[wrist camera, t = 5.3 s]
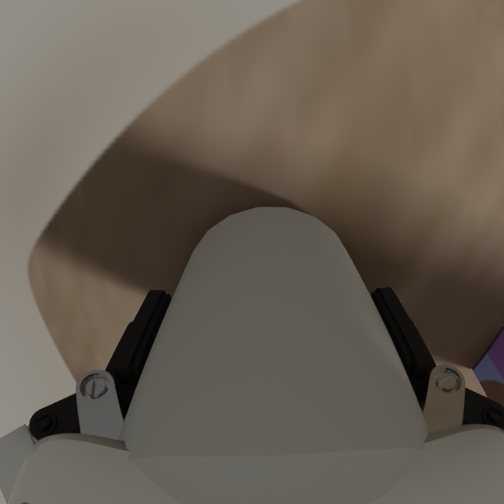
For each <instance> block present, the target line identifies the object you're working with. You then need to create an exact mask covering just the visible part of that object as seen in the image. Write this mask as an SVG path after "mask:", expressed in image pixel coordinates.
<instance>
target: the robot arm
mask: <svg viewBox="0 0 504 504" xmlns="http://www.w3.org/2000/svg"><path fill="white" fill-rule="evenodd" d="M371 298H372V300H373V302H374V304H375V306H376V308H377V310H378V312H379V314H380V316H381V318H382V320H383V322H384V324H385V326H386V329H387V331H388V333H389V335H390V337H391V339H392V342H393V344H394V346H395V348H396V350H397V353H398V355H399V357H400V360H401V362H402V364H403V366H404V369H405V371H406V374H407V376H408V378H409V381H410V383H411V386H412V388H413V391H414V393H415V396H416V398H417V401H418V403H419V406H420V409H421V411H422V414H423V417H424V419H425V422H426V425H427V428H428V431H429V433H428V435H429V436H428V437H427V438H426V440H425V441H424V447H425V450H426V451H425V452H424V453H423V454H422V456H421V457H420V458H419V459H418V460H417V462H416V463H415V464H414V465H413V466H412V467H411V468H410V469H409V470H408V472H407V473H406V474H405V475H404V476H403V477H402V478H401V479H400V480H399V481H398V482H397V483H396V484H395V485H394V486H393V487H392V488H391V489H390V490H389V491H388V492H387V493H386V494H385V495H383V496H381V497H380V498H378V499H376V500H375V501H373V502H371V503H369V504H504V407H503V406H502V405H501V404H499V403H498V402H495V401H493V400H491V399H489V398H487V397H485V396H482V395H480V394H478V393H476V392H474V391H472V390H469V389H467V388H465V379H464V377H463V374H462V373H461V372H460V371H459V370H458V369H457V368H455V367H453V366H451V365H445V364H443V365H438V366H436V364H435V362H434V360H433V358H432V356H431V354H430V352H429V351H428V349H427V347H426V345H425V343H424V341H423V339H422V338H421V336H420V334H419V332H418V330H417V329H416V327H415V325H414V323H413V322H412V321H411V319H410V318H409V316H408V315H407V313H406V311H405V310H404V308H403V306H402V304H401V303H400V301H399V299H398V298H397V296H396V295H395V293H394V291H393V290H392V288H390V287H388V288H377V289H376V290H375V292H372V293H371ZM170 302H171V296H170V295H169V294H166V292H165V291H164V290H150V291H149V293H148V294H147V296H146V298H145V300H144V302H143V304H142V306H141V307H140V309H139V311H138V313H137V315H136V317H135V319H134V321H133V322H131V323H129V325H128V326H127V328H126V330H125V332H124V334H123V336H122V338H121V340H120V342H119V344H118V346H117V347H116V349H115V351H114V353H113V355H112V357H111V360H110V362H109V364H108V366H107V368H106V370H105V371H104V370H92V371H90V372H87V373H86V374H84V375H83V376H82V377H81V378H80V379H79V380H78V382H77V385H76V393H75V394H73V395H71V396H69V397H67V398H64V399H62V400H60V401H58V402H55V403H53V404H51V405H49V406H47V407H44V408H42V409H40V410H38V411H37V412H35V413H34V415H33V416H32V418H31V420H30V424H29V426H28V427H27V426H26V425H25V424H24V425H23V426H21V427H19V428H17V429H16V430H14V431H12V432H11V433H9V434H7V435H5V436H4V437H2V438H0V488H1V491H2V493H3V495H4V498H5V500H6V502H7V504H180V503H178V502H177V501H176V500H175V499H173V498H172V497H171V496H169V495H168V494H167V493H166V492H164V491H163V490H162V489H161V488H160V487H158V486H157V485H156V484H155V483H154V482H153V481H151V480H150V479H149V478H148V477H147V476H146V475H145V474H143V473H142V472H141V471H140V470H139V469H138V468H137V467H136V466H135V465H134V464H133V463H132V462H130V461H129V460H128V457H129V453H130V451H129V450H128V449H127V448H126V444H125V441H121V440H118V438H119V435H120V432H121V429H122V426H123V424H124V421H125V418H126V415H127V412H128V409H129V406H130V404H131V401H132V398H133V395H134V393H135V390H136V387H137V385H138V382H139V379H140V377H141V374H142V371H143V369H144V366H145V364H146V361H147V358H148V356H149V353H150V351H151V348H152V346H153V343H154V341H155V338H156V336H157V333H158V331H159V328H160V326H161V324H162V321H163V319H164V316H165V314H166V312H167V309H168V307H169V305H170Z"/></svg>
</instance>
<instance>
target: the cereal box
mask: <svg viewBox="0 0 504 504" xmlns="http://www.w3.org/2000/svg"><path fill="white" fill-rule="evenodd" d="M473 371H474V373H475V375H476V377H477V378H478V380H479V382H480V384H481V386H482V388H483V389H484V391H485V393H486V395H487V397H488V398H489V399H491V400H493V401H495V402H498V403H499V404H501V405H502V406H503V407H504V327H502V329H501V330H500V332H499V333H498V335H497V336H496V338H495V339H494V341H493V342H492V344H491V345H490V346H489V348H488V349H487V350H486V352H485V353H484V355H483V356H482V357H481V358H480V360H479V361H478V362H477V364H476V365H475V366H474V367H473Z"/></svg>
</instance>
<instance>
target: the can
mask: <svg viewBox="0 0 504 504" xmlns="http://www.w3.org/2000/svg"><path fill="white" fill-rule="evenodd" d="M428 433H429V431H428V428H427V425H426V422H425V419H424V417H423V414H422V411H421V409H420V406H419V403H418V401H417V398H416V396H415V393H414V391H413V388H412V386H411V383H410V381H409V378H408V376H407V374H406V371H405V369H404V366H403V364H402V362H401V360H400V357H399V355H398V353H397V350H396V348H395V346H394V344H393V342H392V339H391V337H390V335H389V333H388V331H387V329H386V326H385V324H384V322H383V320H382V318H381V316H380V314H379V312H378V310H377V308H376V306H375V304H374V302H373V300H372V298H371V296H370V294H369V292H368V290H367V288H366V286H365V284H364V282H363V280H362V278H361V276H360V275H359V273H358V271H357V269H356V267H355V265H354V263H353V262H352V260H351V258H350V256H349V254H348V252H347V251H346V249H345V247H344V246H343V244H342V242H341V241H340V239H339V237H338V236H337V234H336V233H335V232H334V231H333V230H331V229H330V228H329V227H328V226H326V225H325V224H324V223H322V222H321V221H320V220H319V219H317V218H316V217H314V216H312V215H309V214H306V213H303V212H300V211H297V210H294V209H291V208H288V207H256V208H252V209H249V210H246V211H242V212H239V213H236V214H232V215H229V216H228V217H227V218H225V219H224V220H222V221H221V222H219V223H218V224H217V225H215V226H214V227H212V228H211V229H210V230H208V231H207V232H206V234H205V235H204V236H203V238H202V239H201V241H200V242H199V244H198V245H197V246H196V248H195V249H194V251H193V253H192V255H191V257H190V259H189V261H188V264H187V266H186V268H185V270H184V272H183V275H182V277H181V279H180V282H179V284H178V286H177V288H176V291H175V293H174V295H173V298H172V300H171V302H170V305H169V307H168V309H167V312H166V314H165V316H164V319H163V321H162V324H161V326H160V328H159V331H158V333H157V336H156V338H155V341H154V343H153V346H152V348H151V351H150V353H149V356H148V358H147V361H146V364H145V366H144V369H143V371H142V374H141V377H140V379H139V382H138V385H137V387H136V390H135V393H134V395H133V398H132V401H131V404H130V406H129V409H128V412H127V415H126V418H125V421H124V424H123V426H122V429H121V432H120V435H119V438H118V440H121V441H125V444H126V448H127V449H128V450H129V451H130V453H129V457H128V460H129V461H130V462H132V463H133V464H134V465H135V466H136V467H137V468H138V469H139V470H140V471H141V472H142V473H143V474H145V475H146V476H147V477H148V478H149V479H150V480H151V481H153V482H154V483H155V484H156V485H157V486H158V487H160V488H161V489H162V490H163V491H164V492H166V493H167V494H168V495H169V496H171V497H172V498H173V499H175V500H176V501H177V502H178V503H180V504H369V503H371V502H373V501H375V500H376V499H378V498H380V497H381V496H383V495H385V494H386V493H387V492H388V491H389V490H390V489H391V488H392V487H393V486H394V485H395V484H396V483H397V482H398V481H399V480H400V479H401V478H402V477H403V476H404V475H405V474H406V473H407V472H408V470H409V469H410V468H411V467H412V466H413V465H414V464H415V463H416V462H417V460H418V459H419V458H420V457H421V456H422V454H423V453H424V452H425V451H426V450H425V447H424V441H425V440H426V438H427V437H428V436H429V435H428Z"/></svg>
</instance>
